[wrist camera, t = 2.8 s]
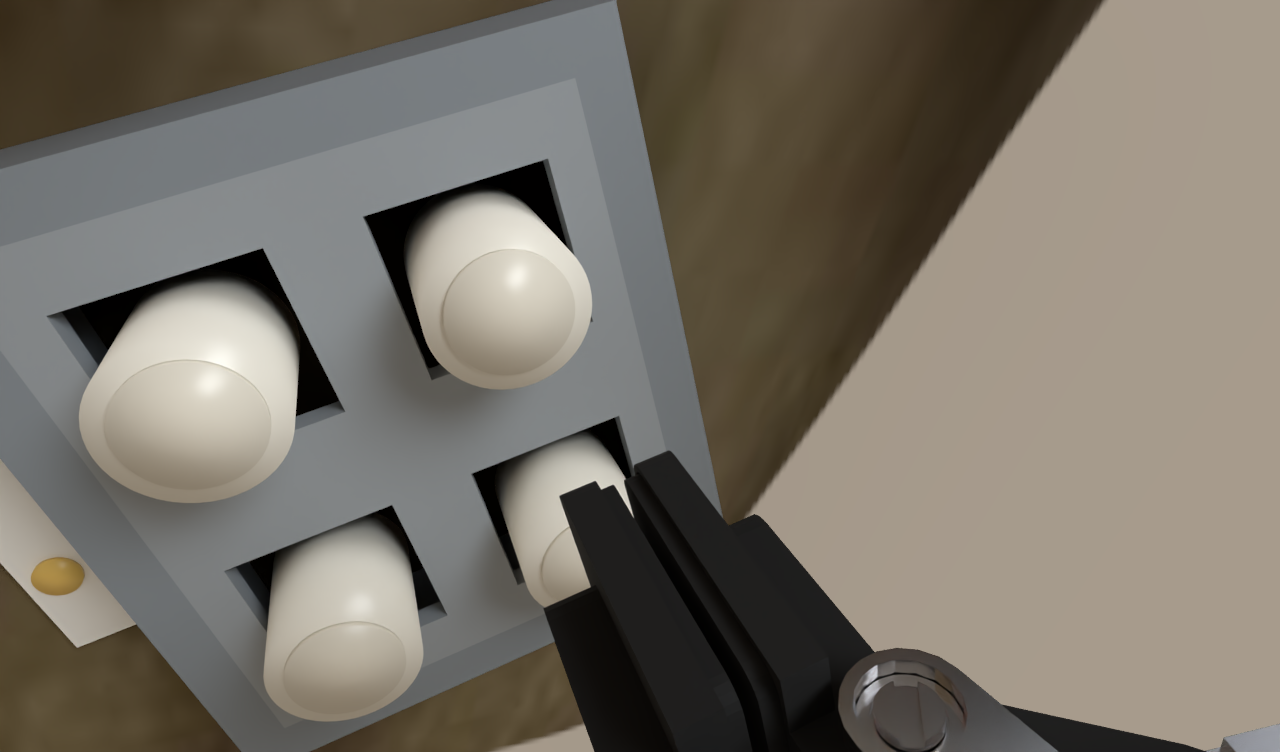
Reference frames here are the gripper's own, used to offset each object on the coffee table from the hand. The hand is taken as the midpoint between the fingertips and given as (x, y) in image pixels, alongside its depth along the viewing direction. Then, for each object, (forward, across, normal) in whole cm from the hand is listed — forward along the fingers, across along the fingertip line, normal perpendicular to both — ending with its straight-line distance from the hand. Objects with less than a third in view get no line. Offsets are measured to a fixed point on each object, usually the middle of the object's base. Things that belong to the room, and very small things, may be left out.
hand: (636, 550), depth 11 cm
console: (+17, +4, +4) cm, 18 cm away
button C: (+14, +7, 0) cm, 16 cm away
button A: (+14, 0, 0) cm, 14 cm away
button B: (+14, 0, +8) cm, 16 cm away
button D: (+14, +7, +8) cm, 18 cm away
